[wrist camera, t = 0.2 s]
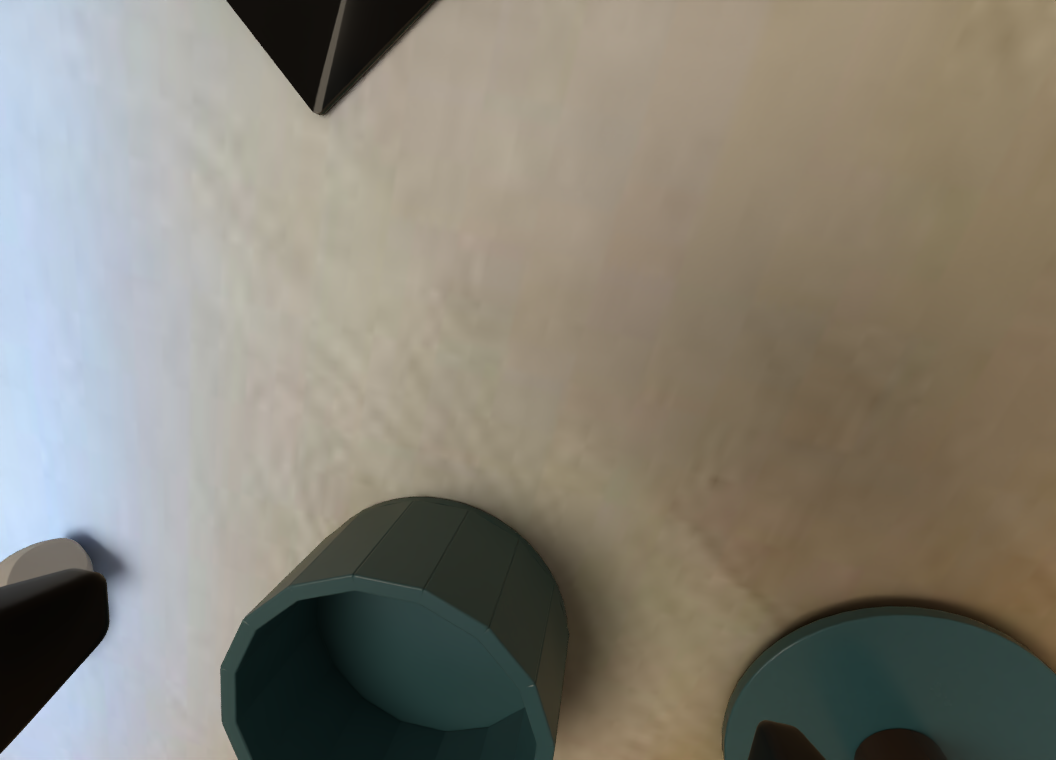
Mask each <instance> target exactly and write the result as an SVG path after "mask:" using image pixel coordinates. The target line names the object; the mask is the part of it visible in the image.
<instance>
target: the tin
mask: <svg viewBox="0 0 1056 760" xmlns="http://www.w3.org/2000/svg"><path fill="white" fill-rule="evenodd" d="M568 639H569V631H568V627H567V616H566V611H565V607H564V602H563V599H562V596H561V594H560V591H559V588H558V586H557V583H556V582H555V580H554V578H553V576H552V574H551V572H550V570H549V569H548V567H547V566H546V564H545V563H544V562H543V560H542V559H541V557H540V556H539V554H538V553H537V552H536V551H535V550H534V549H533V548H532V547H531V546H530V545H529V544H528V542H527V541H526V540H524V539H523V538H522V537H521V536H520V535H519V534H518V533H516V532H515V531H514V530H513V529H512V528H510V527H509V526H507V525H506V524H504V523H503V522H501V521H500V520H498V519H497V518H495V517H493V516H491V515H489V514H487V513H485V512H483V511H481V510H479V509H476V508H474V507H471V506H468V505H466V504H463V503H459V502H455V501H451V500H446V499H439V498H431V497H409V498H401V499H394V500H390V501H387V502H383V503H379V504H376V505H374V506H372V507H370V508H367V509H365V510H363V511H361V512H360V513H358V514H356V515H355V516H353V517H352V518H350V519H349V520H348V521H347V522H345V523H344V524H343V525H342V526H341V527H340V528H338V529H337V530H336V531H334V532H333V533H332V534H330V535H329V536H328V537H326V538H325V539H324V540H323V541H322V542H321V543H320V544H319V545H318V546H317V547H316V548H315V549H314V550H313V551H312V552H311V553H310V554H309V555H308V556H307V557H306V558H305V559H304V560H303V561H302V562H301V563H300V564H299V565H298V566H297V567H296V568H295V569H294V570H293V571H292V572H291V573H290V574H289V575H288V576H287V577H285V578H284V579H283V580H282V581H281V582H280V583H279V584H278V585H277V586H276V587H275V588H274V589H273V590H272V591H271V592H270V593H269V594H268V595H267V596H266V597H265V598H264V599H263V600H262V601H261V602H260V603H259V604H258V605H257V606H256V607H255V608H254V609H253V610H252V611H251V612H250V613H249V614H248V615H247V616H246V617H245V618H244V619H243V621H242V623H241V625H240V627H239V629H238V631H237V633H236V635H235V637H234V639H233V642H232V644H231V646H230V648H229V650H228V652H227V654H226V656H225V658H224V661H223V663H222V665H221V669H220V676H221V714H222V724H223V726H224V729H225V731H226V733H227V735H228V738H229V740H230V742H231V745H232V747H233V749H234V751H235V754H236V756H237V758H238V760H553V756H554V750H555V743H556V735H557V727H558V719H559V711H560V703H561V695H562V687H563V679H564V671H565V663H566V655H567V647H568Z"/></svg>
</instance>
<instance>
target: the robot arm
mask: <svg viewBox="0 0 1056 760" xmlns="http://www.w3.org/2000/svg"><path fill="white" fill-rule="evenodd" d="M108 627H109V607H108V594H107V583H106V579H105V578H104V576H103V575H102V574H100V573H98V572H94V571H89V570H85V569H80V568H70V569H65V570H62V571H58V572H54V573H50V574H47V575H43V576H39V577H35V578H32V579H28V580H24V581H20V582H17V583H13V584H9V585H5V586H2V587H0V753H1V752H2V751H3V750H4V749H5V748H6V747H7V746H8V745H9V744H10V743H11V742H12V741H13V740H14V739H15V738H16V737H17V735H18V734H19V733H20V732H21V731H22V730H23V729H24V728H25V727H26V726H27V724H28V723H29V722H30V721H31V720H32V719H33V718H34V717H35V715H36V714H37V713H38V712H39V711H40V710H41V709H42V708H43V706H44V705H45V704H46V703H47V702H48V701H49V700H50V699H51V698H52V696H53V695H54V694H55V693H56V692H57V691H58V690H59V689H60V687H61V686H62V685H63V684H64V683H65V682H66V681H67V680H68V678H69V677H70V676H71V675H72V674H73V673H74V672H75V671H76V670H77V668H78V667H79V666H80V665H81V664H82V663H83V662H84V661H85V659H86V658H87V657H88V656H89V655H90V654H91V653H92V652H93V650H94V649H95V648H96V647H97V646H98V645H99V644H100V642H101V641H102V640H103V638H104V637H105V635H106V633H107V630H108ZM748 760H826V759H825V758H824V757H823V756H822V754H821V753H820V752H819V751H818V750H817V749H816V748H815V747H814V745H813V744H812V743H811V742H810V741H809V740H808V739H807V738H806V737H805V735H804V734H803V733H802V732H801V731H800V730H799V729H797V728H796V727H794V726H791V725H787V724H782V723H778V722H773V721H769V720H763V721H761V722H760V723H759V724H758V726H757V728H756V731H755V735H754V739H753V743H752V746H751V750H750V754H749V757H748Z"/></svg>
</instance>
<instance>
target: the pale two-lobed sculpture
mask: <svg viewBox="0 0 1056 760" xmlns="http://www.w3.org/2000/svg"><path fill="white" fill-rule="evenodd" d="M70 568H80V569H85V570H89V571H93V565H92V562H91V559H90V557H89V556H88V554H87V553H86V551H85V550H84V549H83V548H82V547H81V545H80V544H79V543H77V542H76V541H74V540H71V539H67V538H57V539H52V540H47V541H42V542H39V543H36V544H33V545H30V546H28V547H26V548H23V549H21V550H19V551H17V552H15V553H14V554H12V555H10V556H9V557H7V558H6V559H5V560H3V561H2V562H1V563H0V587H2V586H5V585H9V584H13V583H17V582H20V581H24V580H28V579H32V578H35V577H39V576H43V575H47V574H50V573H54V572H58V571H62V570H65V569H70Z"/></svg>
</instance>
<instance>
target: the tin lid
mask: <svg viewBox="0 0 1056 760" xmlns="http://www.w3.org/2000/svg"><path fill="white" fill-rule="evenodd" d="M763 720H769V721H773V722H778V723H782V724H787V725H791V726H794V727H796V728H797V729H799V730H800V731H801V732H802V733H803V734H804V735H805V737H806V738H807V739H808V740H809V741H810V742H811V743H812V744H813V745H814V747H815V748H816V749H817V750H818V751H819V752H820V753H821V754H822V756H823V757H824V758H825V759H826V760H1056V674H1055V673H1054V672H1053V671H1052V670H1051V669H1050V668H1049V667H1048V666H1047V665H1046V664H1045V663H1044V662H1043V661H1042V660H1040V659H1039V658H1038V657H1037V656H1036V655H1035V654H1034V653H1033V652H1031V651H1030V650H1029V649H1028V648H1027V647H1025V646H1024V645H1022V644H1021V643H1019V642H1018V641H1016V640H1015V639H1013V638H1012V637H1010V636H1009V635H1007V634H1005V633H1003V632H1001V631H999V630H997V629H995V628H993V627H991V626H989V625H987V624H984V623H981V622H978V621H976V620H973V619H970V618H968V617H965V616H962V615H957V614H953V613H949V612H945V611H941V610H935V609H927V608H920V607H904V606H885V607H873V608H863V609H858V610H852V611H847V612H842V613H838V614H835V615H832V616H829V617H825V618H822V619H819V620H817V621H814V622H812V623H810V624H807V625H805V626H803V627H801V628H798V629H797V630H795V631H793V632H791V633H790V634H788V635H786V636H785V637H783V638H781V639H780V640H778V641H777V642H776V643H774V644H773V645H772V646H771V647H769V648H768V649H767V650H765V651H764V652H763V653H762V654H761V655H760V656H759V657H758V658H757V659H756V660H755V661H754V662H753V663H752V664H751V665H750V666H749V668H748V669H747V670H746V672H745V673H744V675H743V676H742V677H741V679H740V680H739V682H738V683H737V685H736V687H735V689H734V691H733V693H732V695H731V697H730V700H729V703H728V706H727V709H726V712H725V716H724V722H723V728H722V750H723V756H724V760H748V757H749V754H750V750H751V746H752V743H753V739H754V735H755V731H756V728H757V726H758V724H759V723H760V722H761V721H763Z"/></svg>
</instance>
